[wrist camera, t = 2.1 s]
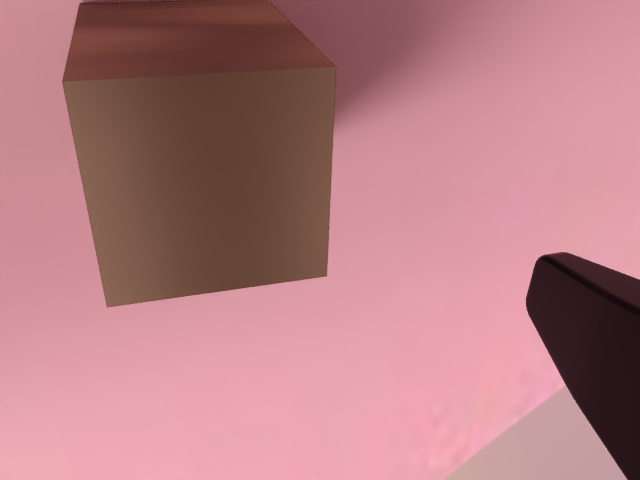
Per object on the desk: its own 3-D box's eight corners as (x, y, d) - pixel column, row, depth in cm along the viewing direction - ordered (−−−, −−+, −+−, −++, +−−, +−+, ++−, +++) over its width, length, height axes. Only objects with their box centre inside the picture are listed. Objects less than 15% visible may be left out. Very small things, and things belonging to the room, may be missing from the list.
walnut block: (108, 175, 17) (106, 307, 12) (80, 3, 14) (62, 81, 10) (269, 160, 18) (326, 276, 13) (266, -2, 16) (335, 66, 11)
